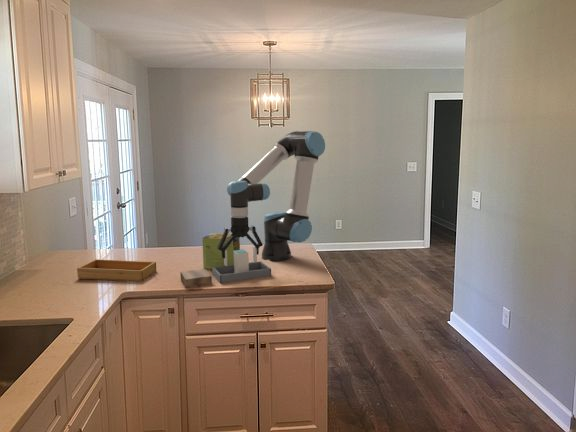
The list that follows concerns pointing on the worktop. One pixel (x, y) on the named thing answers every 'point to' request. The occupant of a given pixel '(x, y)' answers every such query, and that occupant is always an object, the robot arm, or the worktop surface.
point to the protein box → (218, 251)
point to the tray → (116, 270)
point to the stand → (195, 278)
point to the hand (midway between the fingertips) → (240, 263)
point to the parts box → (241, 261)
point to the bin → (228, 275)
